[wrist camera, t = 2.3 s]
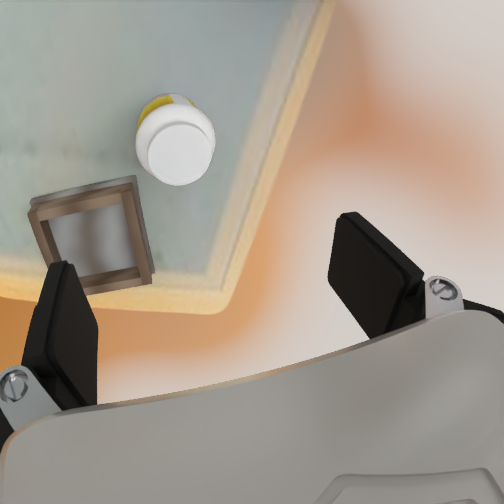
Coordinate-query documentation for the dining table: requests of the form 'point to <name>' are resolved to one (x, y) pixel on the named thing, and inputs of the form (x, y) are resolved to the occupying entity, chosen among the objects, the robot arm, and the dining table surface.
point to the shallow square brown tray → (96, 234)
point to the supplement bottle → (174, 140)
